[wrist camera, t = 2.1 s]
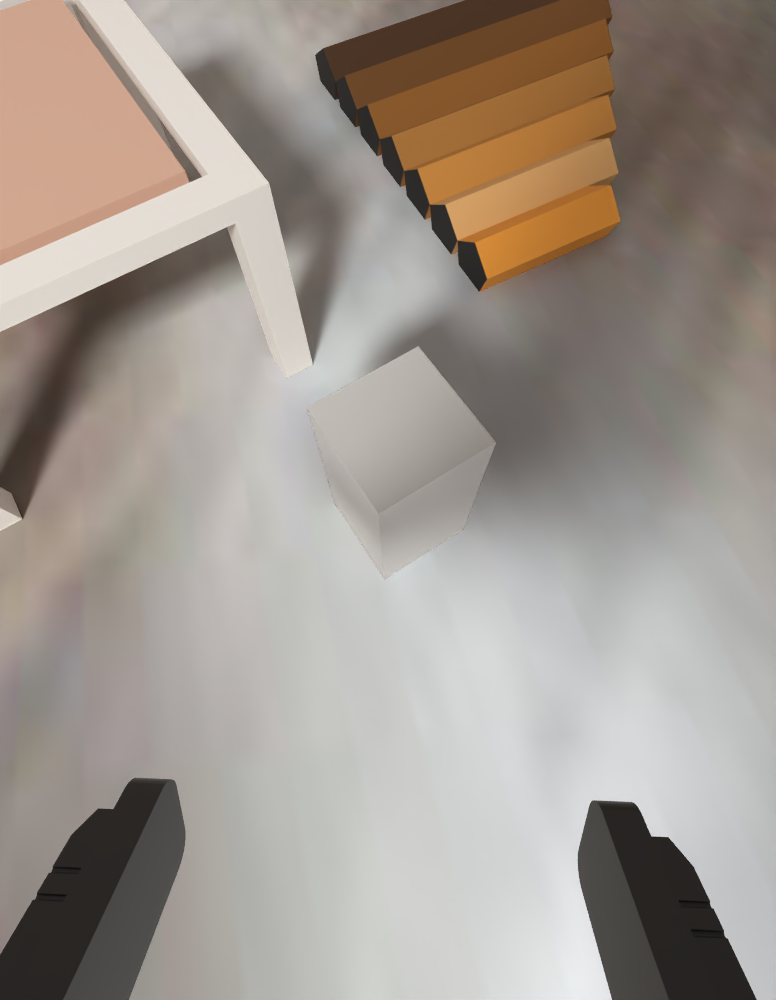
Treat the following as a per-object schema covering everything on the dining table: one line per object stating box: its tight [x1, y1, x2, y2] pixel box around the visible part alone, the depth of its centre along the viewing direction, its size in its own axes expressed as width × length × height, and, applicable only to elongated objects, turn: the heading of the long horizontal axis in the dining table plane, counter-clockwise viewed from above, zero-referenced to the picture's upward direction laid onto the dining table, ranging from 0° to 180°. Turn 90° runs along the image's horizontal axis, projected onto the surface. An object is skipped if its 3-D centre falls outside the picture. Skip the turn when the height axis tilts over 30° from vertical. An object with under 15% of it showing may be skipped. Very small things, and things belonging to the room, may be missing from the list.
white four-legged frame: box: [0, 0, 313, 531], centre depth 28 cm, size 20×20×12 cm
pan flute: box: [315, 0, 620, 292], centre depth 39 cm, size 25×3×25 cm
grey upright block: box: [306, 346, 496, 580], centre depth 24 cm, size 5×5×10 cm
